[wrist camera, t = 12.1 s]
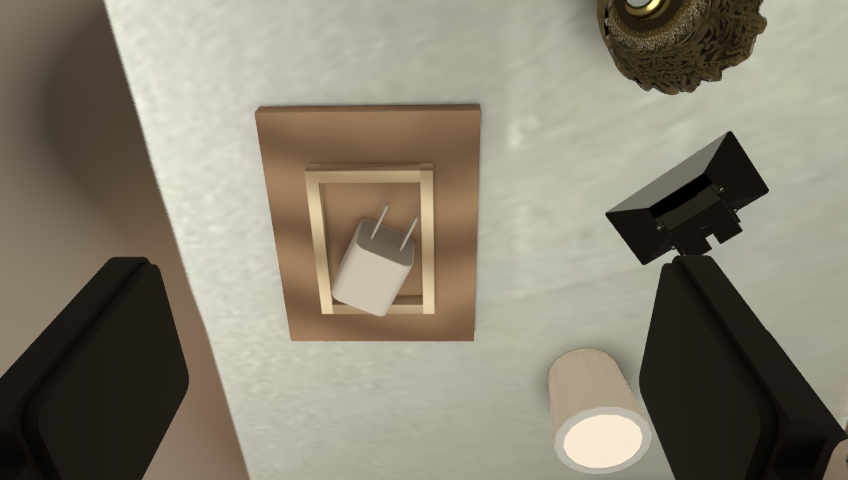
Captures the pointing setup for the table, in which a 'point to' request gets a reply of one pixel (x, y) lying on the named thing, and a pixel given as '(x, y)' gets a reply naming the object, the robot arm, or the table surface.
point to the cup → (679, 39)
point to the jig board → (374, 213)
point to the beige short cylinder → (595, 414)
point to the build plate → (690, 203)
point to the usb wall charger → (374, 266)
